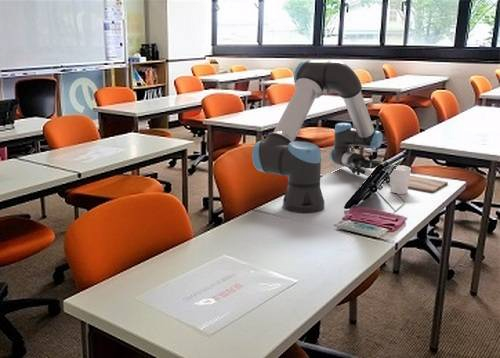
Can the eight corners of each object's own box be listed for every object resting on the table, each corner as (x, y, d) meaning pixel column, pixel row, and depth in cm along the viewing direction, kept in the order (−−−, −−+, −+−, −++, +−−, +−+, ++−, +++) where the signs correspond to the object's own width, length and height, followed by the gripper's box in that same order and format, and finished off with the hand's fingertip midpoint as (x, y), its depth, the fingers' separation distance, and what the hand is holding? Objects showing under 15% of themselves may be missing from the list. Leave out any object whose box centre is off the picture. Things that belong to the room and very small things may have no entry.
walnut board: (432, 193, 203) (432, 190, 202) (394, 185, 213) (395, 183, 213) (447, 184, 214) (447, 182, 214) (411, 177, 224) (411, 175, 224)
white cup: (408, 195, 200) (410, 170, 197) (387, 193, 202) (389, 169, 200) (409, 190, 207) (411, 166, 204) (389, 188, 209) (390, 164, 207)
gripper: (376, 166, 236) (407, 177, 217) (330, 172, 226) (358, 184, 208) (377, 150, 234) (408, 159, 215) (330, 155, 224) (359, 166, 206)
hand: (384, 171), depth 211 cm, fingers open, 13 cm apart
